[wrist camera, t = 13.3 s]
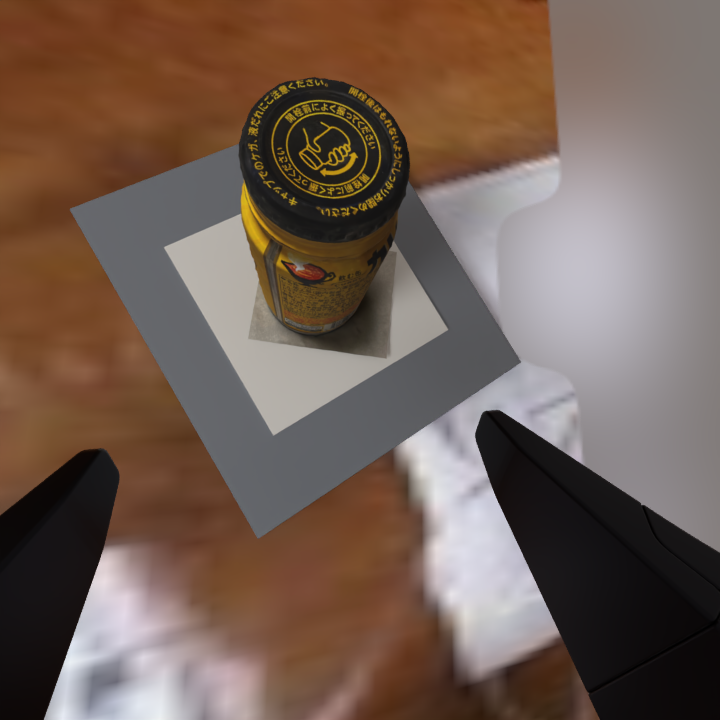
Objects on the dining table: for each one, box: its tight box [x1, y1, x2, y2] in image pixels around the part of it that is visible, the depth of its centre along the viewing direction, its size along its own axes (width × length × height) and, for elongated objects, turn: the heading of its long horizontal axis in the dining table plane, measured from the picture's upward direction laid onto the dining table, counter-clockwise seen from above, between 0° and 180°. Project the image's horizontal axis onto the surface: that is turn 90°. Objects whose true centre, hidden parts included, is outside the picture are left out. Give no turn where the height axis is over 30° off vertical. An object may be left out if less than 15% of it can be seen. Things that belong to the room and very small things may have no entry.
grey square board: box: [70, 144, 521, 539], centre depth 22 cm, size 22×20×1 cm
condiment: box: [238, 77, 410, 359], centre depth 16 cm, size 7×8×12 cm
